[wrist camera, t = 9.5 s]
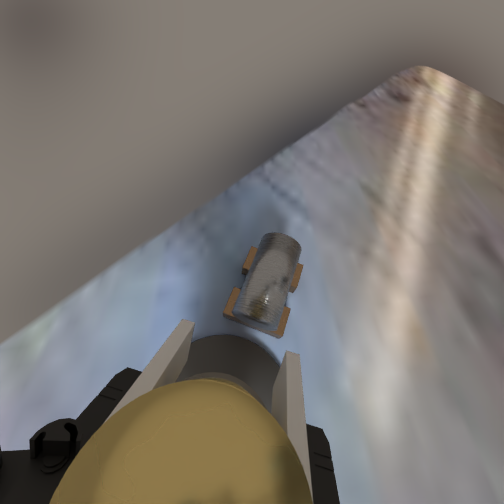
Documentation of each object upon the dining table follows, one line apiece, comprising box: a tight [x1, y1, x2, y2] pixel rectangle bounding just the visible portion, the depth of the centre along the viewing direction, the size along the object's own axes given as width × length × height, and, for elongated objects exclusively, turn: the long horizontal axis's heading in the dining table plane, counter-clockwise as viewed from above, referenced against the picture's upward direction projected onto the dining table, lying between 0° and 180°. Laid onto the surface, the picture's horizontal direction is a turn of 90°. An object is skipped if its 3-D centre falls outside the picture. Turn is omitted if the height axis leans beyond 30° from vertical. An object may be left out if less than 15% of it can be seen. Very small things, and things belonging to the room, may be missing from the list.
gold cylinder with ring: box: [49, 372, 313, 504], centre depth 10 cm, size 5×5×12 cm
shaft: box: [223, 233, 303, 339], centre depth 20 cm, size 7×5×5 cm
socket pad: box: [175, 335, 280, 414], centre depth 17 cm, size 11×11×1 cm
